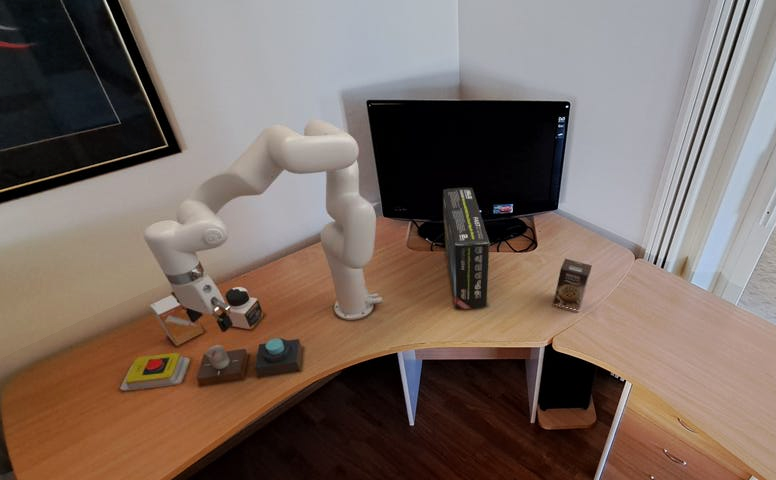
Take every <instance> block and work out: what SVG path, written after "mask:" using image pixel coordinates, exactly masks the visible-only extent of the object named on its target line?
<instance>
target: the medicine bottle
mask: <svg viewBox="0 0 776 480" xmlns="http://www.w3.org/2000/svg"><path fill="white" fill-rule="evenodd" d="M224 296H225V299H226V302H227V305H228V306H229V307H230V312H231V313H230V314H229V317H230V319H231V321H232V323H233V325H232V326H231V327H235V328H240V329H245V330H253V328H254V327H255V326H256V325H257V323H259V321H260V320H261V319H262V318H263V316H264V315H265V314H264V311H263V309H262V307H261V304H260V301H259V299H258V298H257V297H250V294H249V292H248V289H246V287H242V286H235V287H232V288H230V289H229V290H227V291H226V293H225V295H224Z"/></svg>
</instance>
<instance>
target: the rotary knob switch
mask: <svg viewBox="0 0 776 480" xmlns="http://www.w3.org/2000/svg"><path fill="white" fill-rule="evenodd" d="M225 351H226V353H227V355H228V357H229V359H230V363H229V364H228V365H227V366H226V367H224V368H222V369H215V368H213V366H212V364H211V362H210V361H209V359H208V357H207V355H206V353H203V356H202V359H201V362H200V365H199V368H198V371H197V375H196V379H195V380H196V382H197V383H198V385H199V386H207V385H214V384H215V385H216V384H221V383H228V382H234V381H241V380H244V378H245V373H246V369H247V364H248V359H249V354H248V352H247V349H246V348H241V349H232V350H225Z"/></svg>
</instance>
